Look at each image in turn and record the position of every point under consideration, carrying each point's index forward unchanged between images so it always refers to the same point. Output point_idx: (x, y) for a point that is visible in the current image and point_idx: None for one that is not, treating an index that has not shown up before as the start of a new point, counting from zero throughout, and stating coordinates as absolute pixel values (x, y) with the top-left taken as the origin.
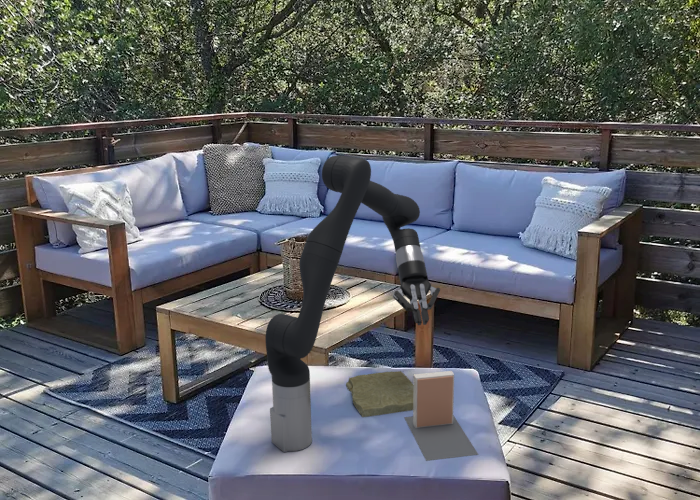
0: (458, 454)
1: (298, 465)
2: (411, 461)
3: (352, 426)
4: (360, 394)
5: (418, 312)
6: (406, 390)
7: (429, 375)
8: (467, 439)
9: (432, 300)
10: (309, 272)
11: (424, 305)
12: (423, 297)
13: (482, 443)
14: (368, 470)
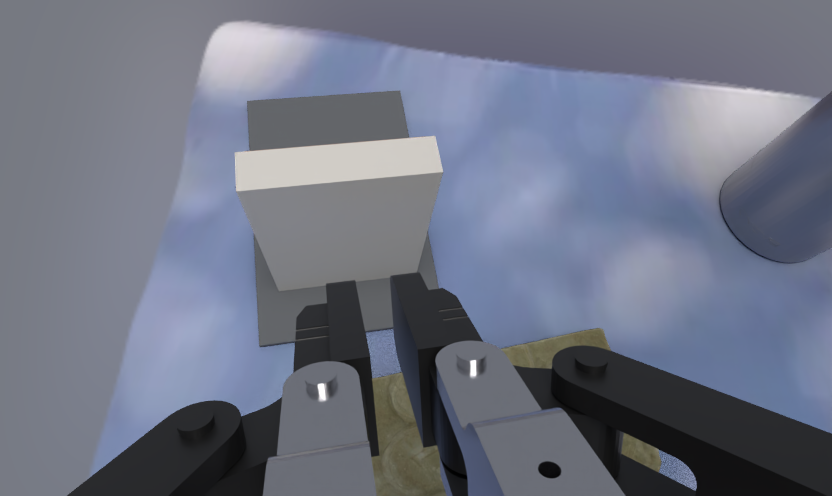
0: (304, 107)
1: (721, 113)
2: (438, 101)
3: (616, 284)
4: (629, 446)
5: (430, 322)
6: (428, 479)
7: (364, 156)
8: None
9: (138, 482)
10: None
11: (331, 391)
12: (331, 463)
13: (213, 158)
14: (547, 79)
